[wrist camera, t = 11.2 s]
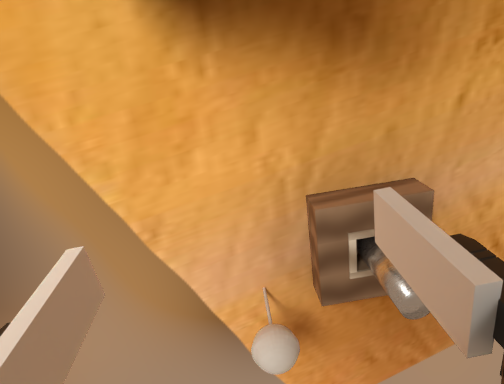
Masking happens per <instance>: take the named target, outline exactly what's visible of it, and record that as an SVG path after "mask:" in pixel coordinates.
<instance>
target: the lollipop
mask: <svg viewBox="0 0 504 384" xmlns="http://www.w3.org/2000/svg"><path fill="white" fill-rule="evenodd" d="M263 293H264V298H265V304H266V309H267V315H268V320H269V325H266V326H265V327H263V328H262V329H260V330H259V331H258V333H257V334H256V336H255V338H254V341H253V344H252V348H251V353H252V357H253V359H254V361H255V362H256V363H257V364H258V366H260V368H261V369H262V370H264V371H265V372H267V373H270V374H282V373H285V372H287V371H289V370H290V369H291V368H292V367H293V365H294V364H295V362H296V360H297V358H298V355H299V352H300V346H299V341H298V339H297V338H296V337H295V335H294V334H293V333H292V331H291V330H290V329H288V328H287V327H285V326H283V325H280V324H272V319H271V314H270V309H269V304H268V298H267V293H266V288H265V287H264V288H263Z"/></svg>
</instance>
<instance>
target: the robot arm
mask: <svg viewBox="0 0 504 384" xmlns="http://www.w3.org/2000/svg"><path fill="white" fill-rule="evenodd" d="M373 192H374V224H375V243H376V244H377V245H378V246H379V248H380V249H381V250H382V252H383V253H384V254H385V255H386V257H387V258H388V259H389V260H390V262H391V263H392V264H393V265H394V267H395V268H396V269H397V271H398V272H399V273H400V274H401V276H402V277H403V278H404V279H405V281H406V282H407V283H408V284H409V286H410V287H411V288H412V290H413V291H414V292H415V293H416V295H417V296H418V297H419V298H420V300H421V301H422V302H423V304H424V305H425V306H426V307H427V309H428V310H429V311H430V312H431V314H432V315H433V316H434V317H435V319H436V320H437V321H438V323H439V324H440V325H441V326H442V328H443V329H444V330H445V331H446V333H447V334H448V335H449V336H450V338H451V339H452V340H453V342H454V343H455V344H456V345H457V347H458V348H459V349H460V350H461V352H462V353H463V354H464V355H465V357H466V358H471V357H476V356H481V355H486V354H491V353H492V348H493V342H494V339H495V340H496V341H497V342H498V343H499V344H500V345H501V346H502V347H503V349H504V261H502V260H501V259H500V258H498V257H497V258H496V255H494V254H493V253H492V252H490V251H489V250H487V249H486V248H485V247H484V246H483V245H481V244H480V243H479V242H477V241H476V240H474V239H472V238H469V237H467V236H464V235H462V234H457V235H451V236H449V235H448V234H447V233H445V232H444V231H443V230H442V229H441V228H439V227H438V226H437V225H436V224H434V223H433V222H432V221H431V220H430V219H428V218H427V217H426V216H425V215H424V214H422V213H421V212H420V211H419V210H418V209H416V208H415V207H414V206H413V205H412V204H410V203H409V202H408V201H407V200H405V199H404V198H403V197H402V196H401V195H399V194H398V193H397V192H396V191H395V190H393V189H392V188H391V187H387V188H382V189H377V190H373ZM104 296H105V293H104V291H103V289H102V287H101V284H100V282H99V280H98V278H97V275H96V273H95V271H94V268H93V266H92V264H91V262H90V259H89V257H88V255H87V252H86V250H85V248H84V246H82V247H78V248H72V249H67V250H66V251H65V253H64V254H63V255H62V256H61V258H60V259H59V260H58V262H57V263H56V264H55V266H54V267H53V269H52V270H51V271H50V272H49V274H48V275H47V276H46V277H45V279H44V280H43V281H42V283H41V284H40V285H39V287H38V288H37V289H36V291H35V292H34V293H33V294H32V296H31V297H30V298H29V300H28V301H27V302H26V304H25V305H24V306H23V308H22V309H21V310H20V312H19V313H18V314H17V315H16V317H15V318H14V319H13V321H12V322H11V323H7V324H6V325H5V326H3V327H2V328H1V329H0V384H64V381H65V379H66V377H67V375H68V373H69V371H70V368H71V366H72V364H73V362H74V360H75V358H76V356H77V353H78V351H79V349H80V347H81V345H82V343H83V341H84V338H85V337H86V334H87V332H88V330H89V328H90V326H91V324H92V322H93V319H94V317H95V315H96V313H97V310H98V309H99V307H100V304H101V302H102V300H103V298H104ZM500 375H501V376H502V380H501V384H504V355H503V360H502V366H501V371H500Z"/></svg>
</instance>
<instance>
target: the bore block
mask: <svg viewBox="0 0 504 384" xmlns="http://www.w3.org/2000/svg"><path fill="white" fill-rule="evenodd" d="M387 187H391V188H392V189H393V190H395V191H396V192H397V193H398V194H399V195H401V196H402V197H403V198H404V199H405V200H407V201H408V202H409V203H410V204H412V205H413V206H414V207H415V208H416V209H418V210H419V211H420V212H421V213H422V214H424V215H425V216H426V217H427V218H428V219H430V220H431V221H432V210H433V197H434V190H432V189H431V188H429V187H428V186H426V185H424V184H423V183H421V182H420V181H418V180H416V179H415V178H411V179H404V180H398V181H392V182H386V183H380V184H374V185H367V186H361V187H355V188H349V189H343V190H336V191H330V192H324V193H318V194H312V195H306V201H307V213H308V225H309V237H310V249H311V261H312V273H313V285H314V288H315V290H316V293H317V295H318V298H319V300H320V302H321V305H322V306H327V305H333V304H339V303H344V302H350V301H356V300H362V299H368V298H373V297H379V296H385V295H388V294H387V293H386V291H385V290H384V288H383V287H382V286H381V284H380V283H379V281H378V280H377V278H376V277H375V276H374V274H373V273H372V271H371V270H370V269H369V267H368V266H367V264H366V263H365V261H364V260H363V259H362V257H361V256H360V254H359V253H358V252H357V249H356V239H362V238H368V237H374V236H375V224H374V192H373V190H377V189H382V188H387Z"/></svg>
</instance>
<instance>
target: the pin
mask: <svg viewBox="0 0 504 384" xmlns="http://www.w3.org/2000/svg"><path fill="white" fill-rule="evenodd" d="M356 249H357V252H358V253H359V254H360V256H361V257H362V259H363V260H364V261H365V263H366V264H367V266H368V267H369V269H370V270H371V271H372V273H373V274H374V276H375V277H376V278H377V280H378V281H379V283H380V284H381V286H382V287H383V288H384V290H385V291H386V293H387V294H388V295H389V297H390V298H391V300H392V301H393V303H394V304H395V305H396V307H397V308H398V310H399V311H400V312H401V314H402V315H403V316H404V317H405V318H408V319H419V318H422V317H424V316H426V315H427V314H429V313H430V311H429V310H428V309H427V307H426V306H425V305H424V304H423V302H422V301H421V300H420V298H419V297H418V296H417V295H416V293H415V292H414V291H413V290H412V288H411V287H410V286H409V284H408V283H407V282H406V281H405V279H404V278H403V277H402V276H401V274H400V273H399V272H398V271H397V269H396V268H395V267H394V265H393V264H392V263H391V262H390V260H389V259H388V258H387V257H386V255H385V254H384V253H383V252H382V250H381V249H380V248H379V246H378V245H377V244H376V243H375V236H374V237H368V238H362V239H356Z"/></svg>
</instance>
